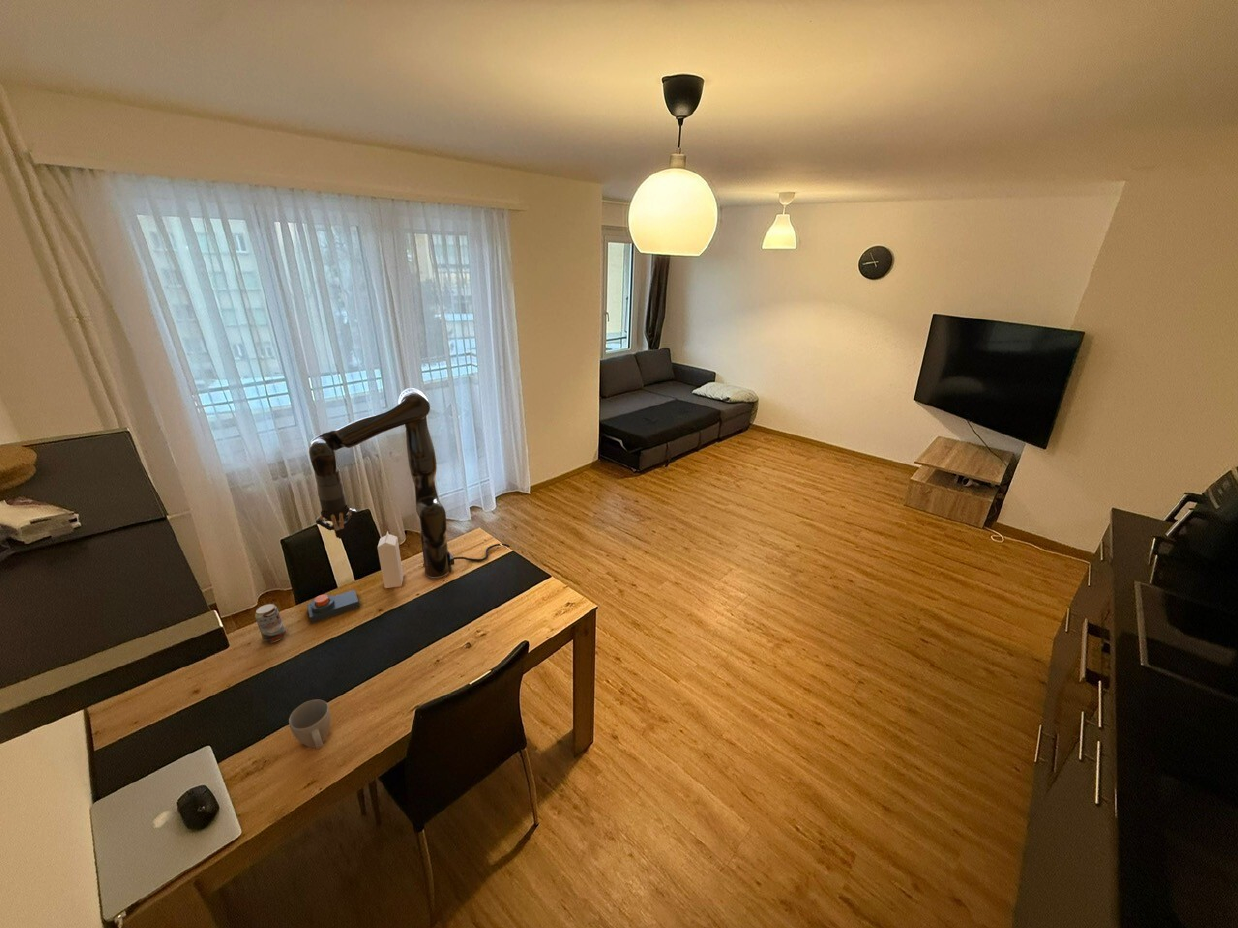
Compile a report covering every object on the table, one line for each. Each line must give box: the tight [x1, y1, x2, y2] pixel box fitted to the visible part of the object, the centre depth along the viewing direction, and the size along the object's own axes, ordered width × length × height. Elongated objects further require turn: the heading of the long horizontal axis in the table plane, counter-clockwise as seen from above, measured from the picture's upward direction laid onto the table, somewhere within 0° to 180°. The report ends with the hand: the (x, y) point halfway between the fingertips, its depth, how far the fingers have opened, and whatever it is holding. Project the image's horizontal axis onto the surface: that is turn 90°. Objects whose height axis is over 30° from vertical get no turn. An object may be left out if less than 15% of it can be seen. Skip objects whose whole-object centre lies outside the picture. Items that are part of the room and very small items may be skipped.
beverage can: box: [254, 603, 286, 644], centre depth 155 cm, size 6×7×12 cm
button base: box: [306, 589, 360, 624], centre depth 170 cm, size 15×8×4 cm, turn 127°
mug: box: [288, 698, 332, 751], centre depth 125 cm, size 12×9×10 cm
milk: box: [377, 530, 404, 589], centre depth 181 cm, size 6×6×22 cm
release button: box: [314, 594, 329, 607], centre depth 167 cm, size 4×4×2 cm
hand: (341, 537), depth 169 cm, fingers closed
